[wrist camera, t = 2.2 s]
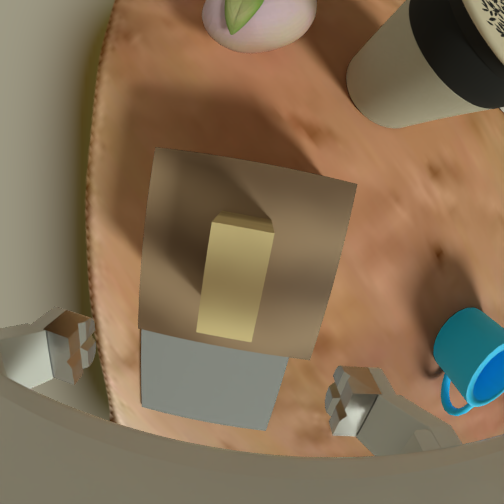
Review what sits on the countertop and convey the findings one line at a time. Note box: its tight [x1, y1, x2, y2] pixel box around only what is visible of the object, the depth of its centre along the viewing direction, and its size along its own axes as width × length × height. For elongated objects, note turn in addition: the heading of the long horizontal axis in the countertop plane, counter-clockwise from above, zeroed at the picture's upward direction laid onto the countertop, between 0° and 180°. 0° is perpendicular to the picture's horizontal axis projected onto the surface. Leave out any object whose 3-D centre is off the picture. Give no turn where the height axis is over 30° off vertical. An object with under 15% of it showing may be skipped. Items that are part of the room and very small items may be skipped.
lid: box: [138, 147, 357, 360], centre depth 18 cm, size 12×12×5 cm
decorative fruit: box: [202, 0, 317, 53], centre depth 17 cm, size 9×8×10 cm
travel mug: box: [346, 0, 504, 128], centre depth 15 cm, size 8×8×18 cm
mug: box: [433, 307, 504, 416], centre depth 26 cm, size 12×8×8 cm
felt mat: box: [141, 329, 289, 431], centre depth 31 cm, size 15×15×1 cm
